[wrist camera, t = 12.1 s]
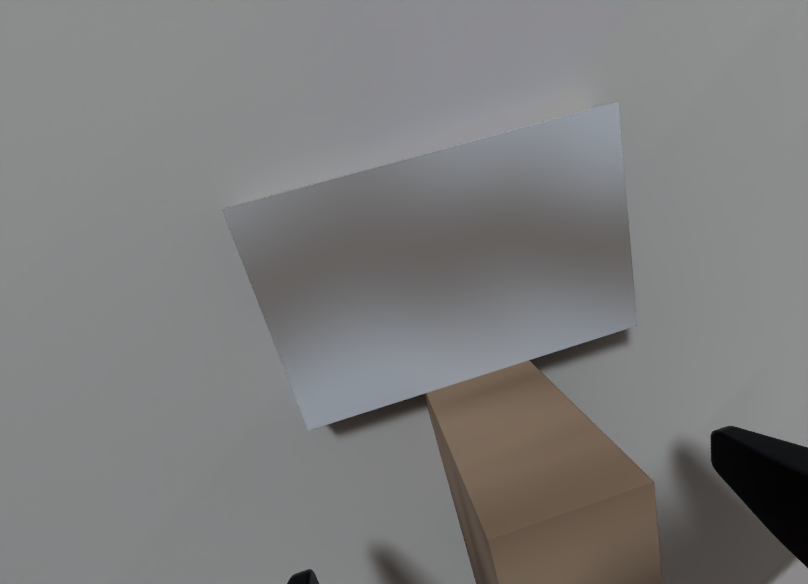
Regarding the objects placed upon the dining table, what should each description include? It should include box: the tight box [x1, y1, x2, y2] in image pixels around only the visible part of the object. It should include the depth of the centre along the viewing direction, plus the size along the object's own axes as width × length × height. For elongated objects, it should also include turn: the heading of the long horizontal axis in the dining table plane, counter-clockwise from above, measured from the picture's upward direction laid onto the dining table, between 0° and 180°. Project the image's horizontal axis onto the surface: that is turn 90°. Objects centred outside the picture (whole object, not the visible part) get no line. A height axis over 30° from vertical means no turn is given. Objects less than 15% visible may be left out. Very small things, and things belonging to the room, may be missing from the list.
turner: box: [222, 102, 662, 584], centre depth 9 cm, size 14×8×5 cm, turn 14°
